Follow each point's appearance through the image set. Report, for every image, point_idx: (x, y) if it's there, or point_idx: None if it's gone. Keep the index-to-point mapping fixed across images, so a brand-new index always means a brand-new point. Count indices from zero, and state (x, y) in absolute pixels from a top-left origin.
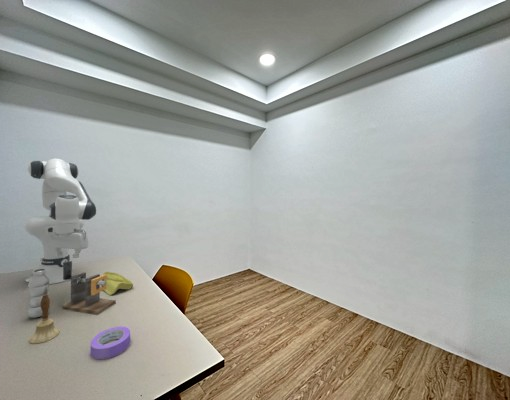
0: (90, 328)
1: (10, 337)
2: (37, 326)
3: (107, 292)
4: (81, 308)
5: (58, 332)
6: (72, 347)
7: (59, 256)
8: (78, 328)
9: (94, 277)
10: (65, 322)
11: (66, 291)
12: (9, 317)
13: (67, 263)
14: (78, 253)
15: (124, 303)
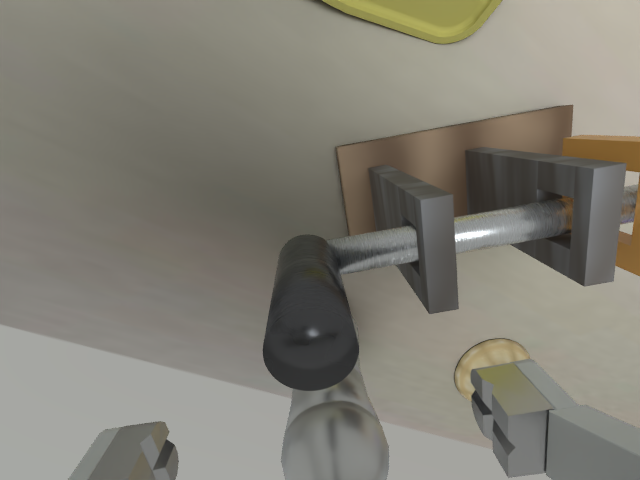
0: (608, 289)
1: (393, 413)
2: None
3: (407, 28)
4: None
5: (526, 352)
6: (632, 364)
7: (176, 463)
8: (563, 306)
9: (612, 219)
10: (476, 305)
11: (131, 127)
12: (229, 371)
13: (351, 367)
14: (600, 429)
15: (607, 83)
